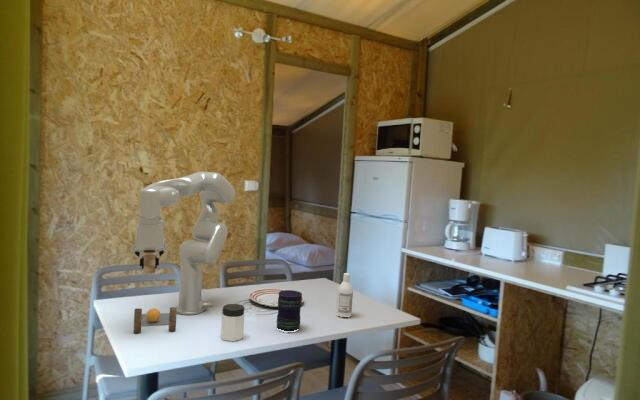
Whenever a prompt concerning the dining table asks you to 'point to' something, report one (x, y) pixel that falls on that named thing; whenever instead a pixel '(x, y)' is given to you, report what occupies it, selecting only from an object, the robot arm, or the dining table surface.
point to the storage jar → (289, 310)
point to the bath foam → (345, 297)
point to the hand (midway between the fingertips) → (149, 267)
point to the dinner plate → (265, 292)
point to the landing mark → (162, 321)
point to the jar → (232, 322)
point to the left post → (137, 320)
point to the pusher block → (149, 261)
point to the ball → (153, 315)
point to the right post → (172, 319)
